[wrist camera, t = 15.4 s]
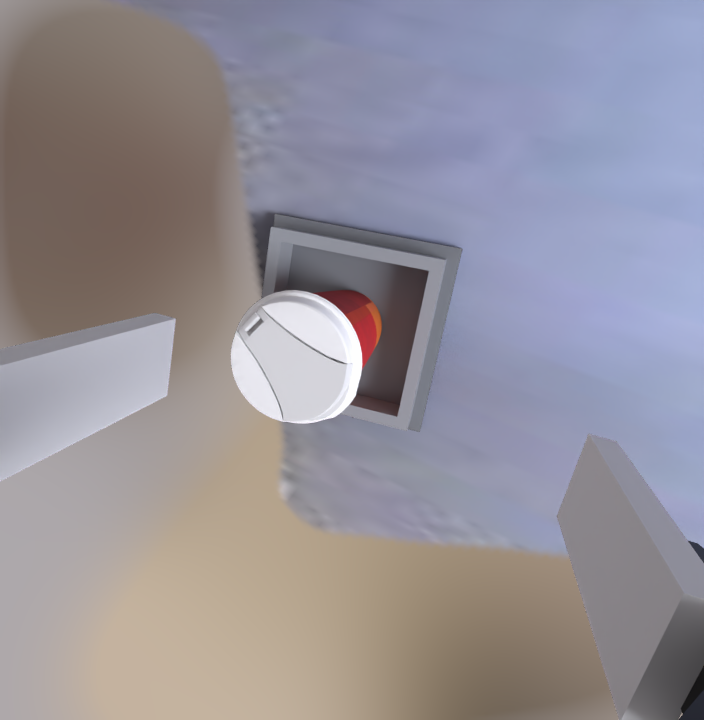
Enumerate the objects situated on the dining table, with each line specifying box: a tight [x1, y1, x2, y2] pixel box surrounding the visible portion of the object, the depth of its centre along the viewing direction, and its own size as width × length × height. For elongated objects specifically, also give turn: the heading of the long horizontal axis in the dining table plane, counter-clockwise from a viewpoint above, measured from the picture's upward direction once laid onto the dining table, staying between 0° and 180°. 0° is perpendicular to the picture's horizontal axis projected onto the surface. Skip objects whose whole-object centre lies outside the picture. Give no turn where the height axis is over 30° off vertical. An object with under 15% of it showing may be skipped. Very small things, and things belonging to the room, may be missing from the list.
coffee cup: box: [231, 290, 382, 423], centre depth 36 cm, size 8×8×15 cm
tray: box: [262, 214, 462, 432], centre depth 42 cm, size 16×16×4 cm
